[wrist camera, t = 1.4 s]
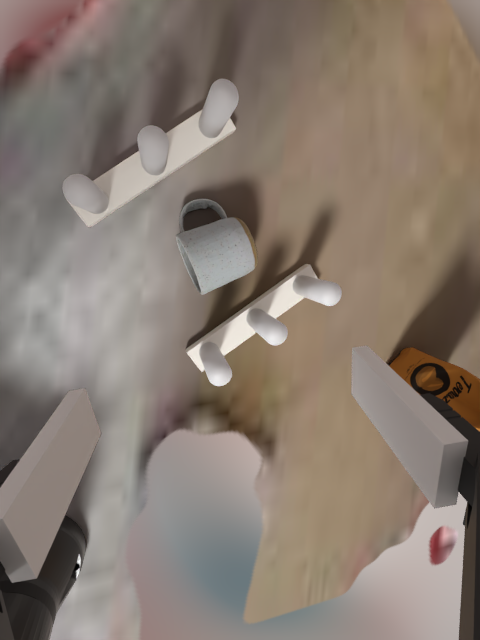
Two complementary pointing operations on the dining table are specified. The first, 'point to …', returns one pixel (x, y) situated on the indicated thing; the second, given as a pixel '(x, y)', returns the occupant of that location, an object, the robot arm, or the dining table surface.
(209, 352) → the rack
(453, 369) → the coffee package
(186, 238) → the ceramic mug
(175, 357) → the dining table surface
